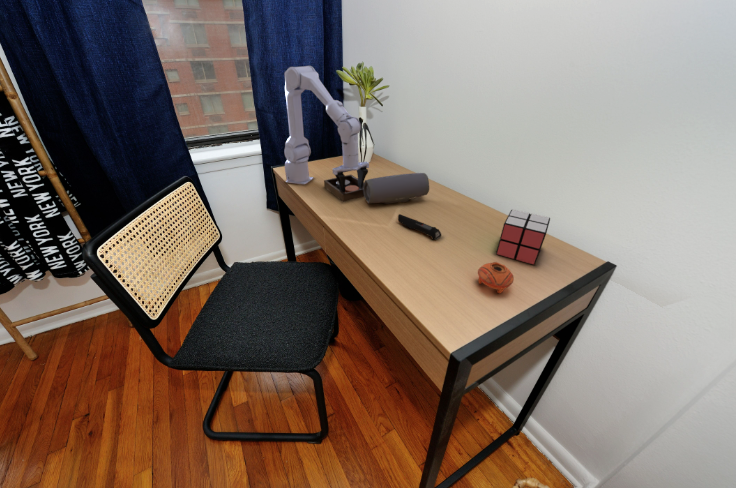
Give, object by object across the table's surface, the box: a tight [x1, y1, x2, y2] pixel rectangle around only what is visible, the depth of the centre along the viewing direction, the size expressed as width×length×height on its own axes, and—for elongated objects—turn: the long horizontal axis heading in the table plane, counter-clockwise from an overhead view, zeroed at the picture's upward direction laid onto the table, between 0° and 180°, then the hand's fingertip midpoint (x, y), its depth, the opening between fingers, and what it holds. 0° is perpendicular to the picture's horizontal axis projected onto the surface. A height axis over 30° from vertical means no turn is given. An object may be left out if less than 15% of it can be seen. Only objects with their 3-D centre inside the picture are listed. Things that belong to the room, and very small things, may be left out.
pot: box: [477, 261, 515, 294], centre depth 73 cm, size 8×8×7 cm
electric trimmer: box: [397, 213, 442, 241], centre depth 96 cm, size 4×16×3 cm, turn 45°
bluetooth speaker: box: [363, 172, 430, 205], centre depth 113 cm, size 23×9×10 cm, turn 108°
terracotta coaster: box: [345, 185, 359, 193], centre depth 120 cm, size 6×6×2 cm
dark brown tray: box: [323, 174, 365, 203], centre depth 122 cm, size 17×13×3 cm
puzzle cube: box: [495, 209, 551, 266], centre depth 84 cm, size 10×10×10 cm
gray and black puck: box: [336, 180, 350, 190], centre depth 125 cm, size 6×6×2 cm
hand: (351, 188), depth 119 cm, fingers open, 7 cm apart
